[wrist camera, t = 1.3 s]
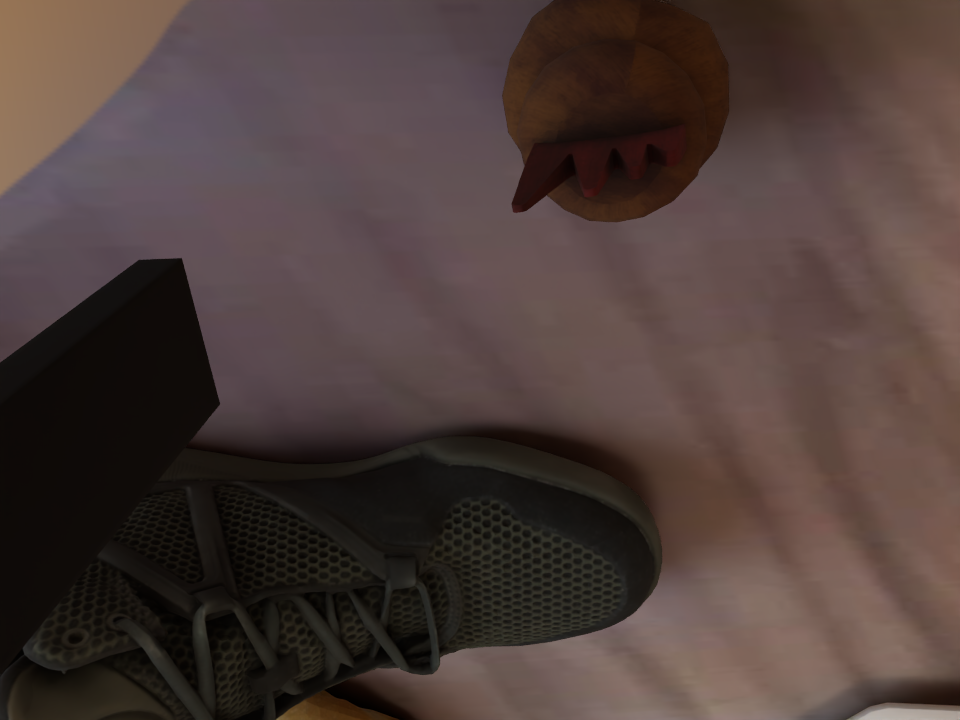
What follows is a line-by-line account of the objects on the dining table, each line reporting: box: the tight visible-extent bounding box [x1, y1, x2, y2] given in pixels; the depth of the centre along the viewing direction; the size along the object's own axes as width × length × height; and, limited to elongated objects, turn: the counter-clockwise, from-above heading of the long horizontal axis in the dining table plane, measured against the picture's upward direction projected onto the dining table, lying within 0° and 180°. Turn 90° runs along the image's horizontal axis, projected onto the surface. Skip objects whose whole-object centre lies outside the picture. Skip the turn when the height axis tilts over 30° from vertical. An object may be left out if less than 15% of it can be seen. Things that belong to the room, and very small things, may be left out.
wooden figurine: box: [502, 0, 729, 222], centre depth 25 cm, size 7×6×15 cm
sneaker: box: [0, 436, 662, 720], centre depth 36 cm, size 12×29×17 cm, turn 98°
